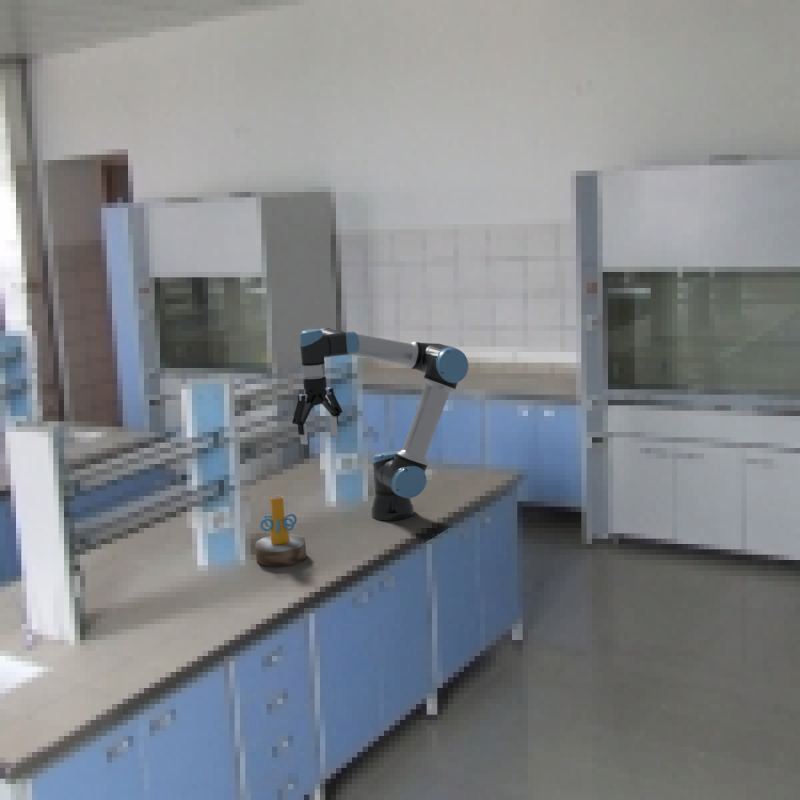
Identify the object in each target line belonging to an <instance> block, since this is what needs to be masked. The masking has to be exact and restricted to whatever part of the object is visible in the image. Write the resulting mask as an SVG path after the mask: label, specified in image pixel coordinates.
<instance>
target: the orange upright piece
mask: <svg viewBox="0 0 800 800" xmlns="http://www.w3.org/2000/svg"><path fill="white" fill-rule="evenodd" d="M269 498H270V500H269V501H270V508H271V509H270V511H271V514H266V515H264V516H263V519H262V520H261V521H260V525H259V526H260V529H261V530H262V531H264V532H269V533H270V534H269V536H271V543H272V544H276V545H280V544H285V543H288V542H289V541H290V538H289V534H290V531H293V529H294V528H295V525H296V524H297V521H298V518H297V516H296V515H295V514H294V513H288V514H287V515H285V508H284V507H285V506H284V496H283V495H280V494H279V495H272V496H271V497H269ZM291 517H293V518H294V519H292V518H291ZM287 521H289V522H290V523H288V522H287ZM268 522H269V523H270V524H269V523H268ZM263 525H265V526H266V527H267V528H264V526H263Z"/></svg>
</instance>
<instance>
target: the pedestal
mask: <svg viewBox="0 0 800 800" xmlns="http://www.w3.org/2000/svg"><path fill="white" fill-rule="evenodd" d="M289 538H290V541H289V542H288V543H285V544H280V545H276V544H272V543H271V535H269V536H265V537H262V538H260V539H258V540H257V541H256V542H255V544H254V547H255V557H256V564H258V565H260V566H262V567H266V568H284V567H285V568H286V567H289V566H290V567H291V566H294V565H298V564H300V563H302V562H304V560H306V558H307V549H306V548H307V547H306V538H305V537H304V536H302V535H299V534H293V533H289Z"/></svg>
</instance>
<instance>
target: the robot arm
mask: <svg viewBox="0 0 800 800" xmlns="http://www.w3.org/2000/svg"><path fill="white" fill-rule="evenodd" d="M299 347H300V357H301V368H302V369H301V370H302V376H303V379H302V380H303V381H302V382H303V383H302V384H303V389H304V391H305V393H304V394H298V395H297V403H296V407H295V410H294V413H293V417H292V421H291V423H292V424H293V425H297V430H298V431H297V432H298V435H299V438H300V440H299V441H300V444H301V445H305V446H306V445H309V442H308V428H307V424H305V423H306V421H307V419H308V417H309V415H310V413H311V411H312V408H314V406H318V405H322V406H323V407H324V408H325V409H326V411H328V413H329V414H330V415H329V426H330V436H335V437H337V436H339V433H338V431H339V429H338V425H339V417H340V416H341V414H342V413H343V409H342V407H341V405H340V403H339V401H338V399H337V398H336V395H335V392H334V388H333V387H327V385H328V383H327V377H326V374H327V373H326V361H325V359H326V358H330V357H339V356H353V357H359V358H366V359H371V360H377V361H383V362H388V363H393V364H395V363H396V364H399V365H403V366H404V365H405V366H406V367H407V368H408V369H411V370H416V371H419V372H422V373H424V375H423V380H424V383H425V386H424V389H423V392H422V394H421V397H420V399H419V403H418V404H417V405H418V406H417V408H416V411H415V413H414V416H413V418H412V422H411V424H410V427H409V431H408V432H407V436H406V438H405V441H404V443H403V447H402V448H401V450H388V451H383V452H378V453H375V454H374V455H373V457H372V468H373V483H374V492H375V493H374V499H373V503H372V507H371V517H372V518H373V519H374V520H379V521H398V520H399V521H401V520H403V519H407V518H410V517H412V516H413V515H414V514H415V513H414V505H413V504H412V500H411V499H412V498H416V497H417V496H419V495H420V494H421V493H423V491H424V490H425V488H426V486H427V482H428V480H427V474H426V470H427V467H428V464H429V463H428V461H427V458H426V457H427V455H428V453H429V450H430V449H429V448H430V447H431V444H432V441H433V438H434V435H435V433H436V430H437V427H438V424H439V422H440V419H441V416H442V414H443V411H444V409H445V405H446V403H447V400H448V397H449V395H450V393H452V392H454V391H456V389H457V386H458V384H459V382H461V381H462V380H464V379H465V377H466V376H467V374H468V371H469V361H468V358H467V356H466V354H465V352H463V351H462V350H460V349H459V348H456V346H455V347H454V346H450V345H445V344H441V343H434V342H433V343H432V342H418V341H412V342H410V343H409V342H402V341H397V340H394V339H393V340H391V339H386V338H381V337H375V336H370V335H365V334H361V333H357V332H355V331H343V330H338V329H334V328H333V329H332V328H330V327H323V328H320V329H319V328H313V329H311V328H310V329H305V330H302V331H301V332H300V333H299ZM326 396H327V397H326Z"/></svg>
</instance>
